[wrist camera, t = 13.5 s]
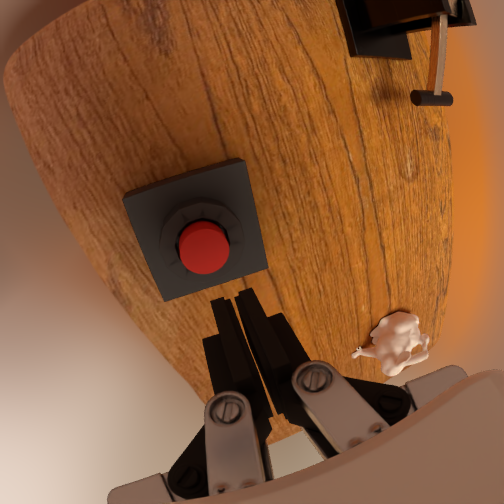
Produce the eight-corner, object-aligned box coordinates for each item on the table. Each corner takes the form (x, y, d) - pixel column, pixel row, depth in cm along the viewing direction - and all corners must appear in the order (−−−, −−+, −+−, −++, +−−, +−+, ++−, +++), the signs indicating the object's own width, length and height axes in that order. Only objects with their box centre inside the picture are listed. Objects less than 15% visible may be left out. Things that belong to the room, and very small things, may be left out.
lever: (437, 100, 20) (455, 110, 18) (405, 100, 19) (424, 110, 18) (444, -10, 11) (465, -6, 10) (408, -25, 10) (431, -23, 9)
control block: (164, 289, 27) (164, 313, 23) (126, 192, 22) (118, 205, 19) (261, 257, 28) (275, 277, 25) (238, 157, 23) (251, 163, 20)
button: (187, 269, 23) (188, 280, 21) (172, 229, 21) (173, 238, 19) (229, 255, 23) (234, 265, 22) (218, 214, 21) (222, 222, 20)
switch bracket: (405, 60, 23) (491, 57, 12) (350, 57, 21) (443, 41, 11) (384, -13, 18) (461, -36, 8) (326, -25, 17) (402, -68, 6)
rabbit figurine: (350, 358, 40) (383, 402, 32) (348, 326, 36) (387, 374, 28) (409, 323, 41) (445, 359, 33) (413, 290, 38) (455, 326, 29)
